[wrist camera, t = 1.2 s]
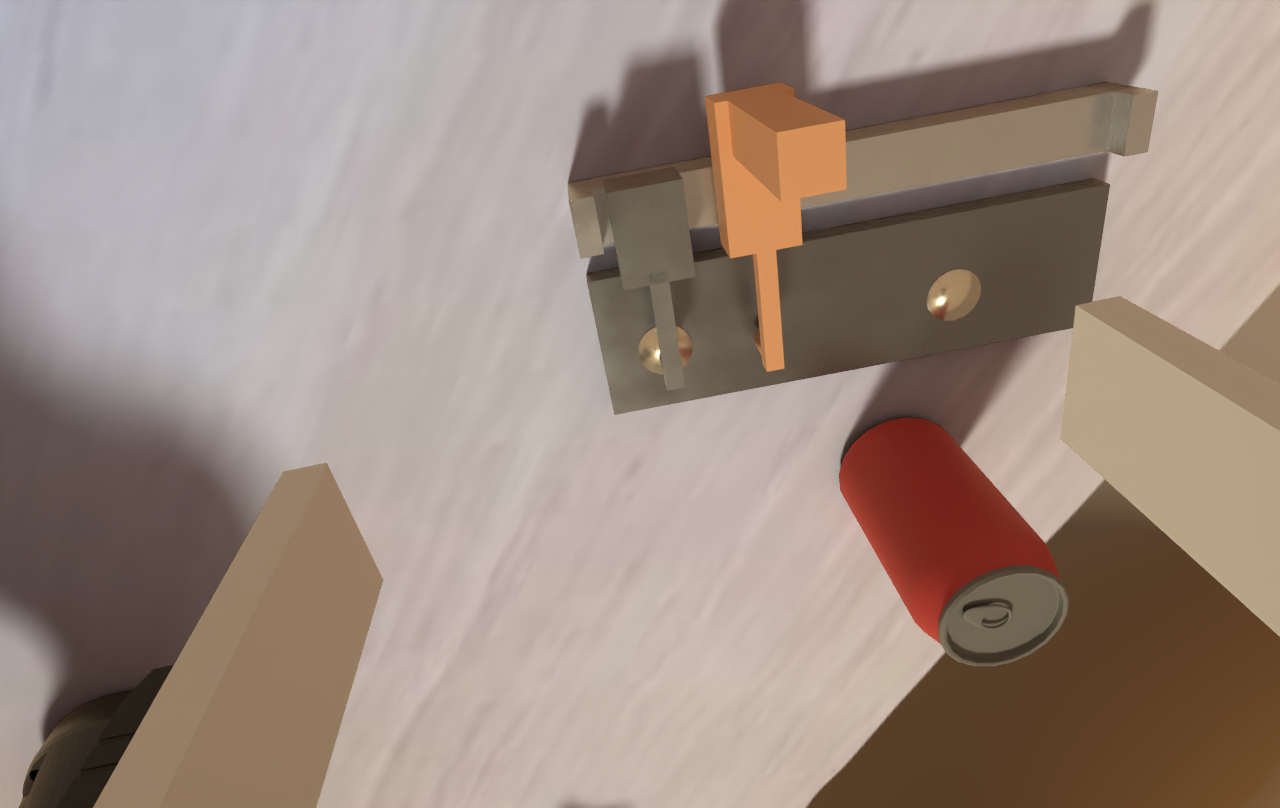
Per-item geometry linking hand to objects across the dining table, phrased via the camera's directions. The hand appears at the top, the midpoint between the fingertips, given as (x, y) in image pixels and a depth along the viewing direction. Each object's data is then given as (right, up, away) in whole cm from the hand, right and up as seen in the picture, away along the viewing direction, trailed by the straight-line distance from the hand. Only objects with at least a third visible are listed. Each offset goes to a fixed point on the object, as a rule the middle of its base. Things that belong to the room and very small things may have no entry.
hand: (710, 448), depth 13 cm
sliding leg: (+4, +8, +19) cm, 21 cm away
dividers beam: (+8, +9, +21) cm, 25 cm away
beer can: (+13, -2, +29) cm, 31 cm away
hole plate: (+9, +6, +23) cm, 25 cm away
